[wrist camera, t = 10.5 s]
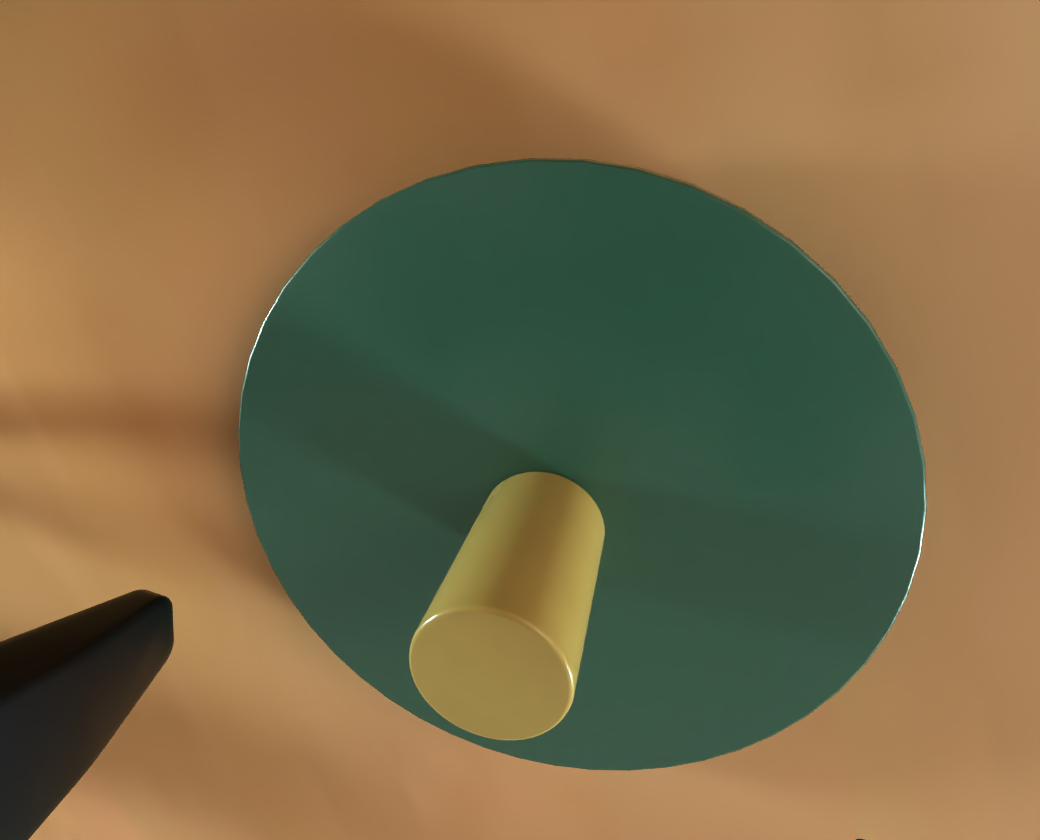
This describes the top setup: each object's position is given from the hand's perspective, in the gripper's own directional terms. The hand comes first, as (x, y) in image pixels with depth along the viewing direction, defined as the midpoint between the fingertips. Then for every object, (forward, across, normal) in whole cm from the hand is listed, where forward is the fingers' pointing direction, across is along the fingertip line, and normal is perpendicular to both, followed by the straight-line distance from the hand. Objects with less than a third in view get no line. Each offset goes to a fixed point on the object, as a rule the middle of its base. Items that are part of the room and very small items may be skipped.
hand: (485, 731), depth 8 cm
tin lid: (+5, 0, 0) cm, 5 cm away
